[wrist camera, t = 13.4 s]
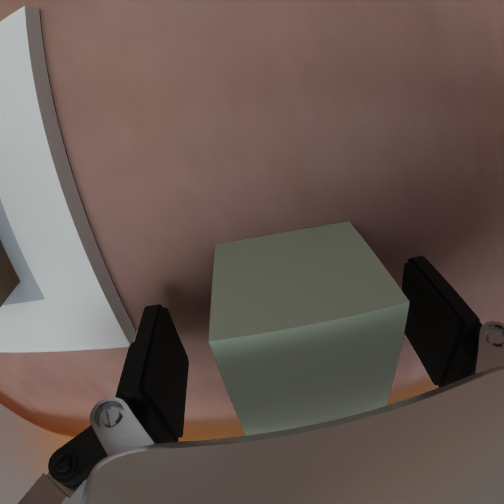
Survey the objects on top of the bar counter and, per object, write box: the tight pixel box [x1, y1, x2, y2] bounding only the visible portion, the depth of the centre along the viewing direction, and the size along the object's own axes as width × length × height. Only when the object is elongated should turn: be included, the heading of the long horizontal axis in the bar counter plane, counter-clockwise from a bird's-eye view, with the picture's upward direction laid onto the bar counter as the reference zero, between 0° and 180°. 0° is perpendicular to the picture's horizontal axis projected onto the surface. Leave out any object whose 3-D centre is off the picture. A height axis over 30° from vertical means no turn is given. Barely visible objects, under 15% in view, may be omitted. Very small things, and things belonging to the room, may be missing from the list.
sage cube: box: [209, 221, 410, 436], centre depth 11 cm, size 5×5×5 cm
